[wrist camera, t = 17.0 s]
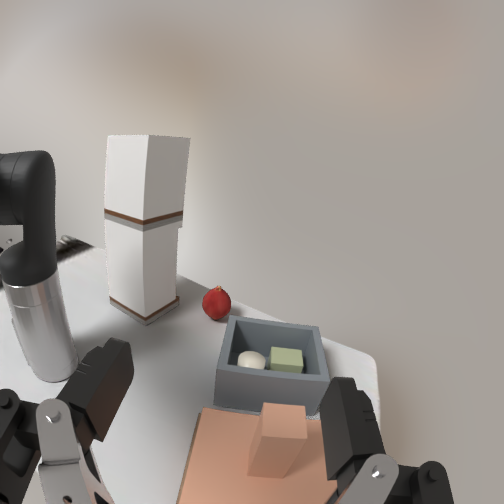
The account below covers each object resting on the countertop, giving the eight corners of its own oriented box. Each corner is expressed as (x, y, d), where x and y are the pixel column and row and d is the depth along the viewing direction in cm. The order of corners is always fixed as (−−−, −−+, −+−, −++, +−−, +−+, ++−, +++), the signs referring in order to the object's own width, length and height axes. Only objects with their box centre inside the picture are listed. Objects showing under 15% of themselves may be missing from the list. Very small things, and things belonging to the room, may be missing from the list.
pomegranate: (198, 312, 59) (200, 279, 56) (223, 309, 61) (227, 277, 58) (205, 328, 54) (208, 293, 51) (233, 325, 56) (237, 291, 53)
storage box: (213, 404, 36) (216, 368, 33) (225, 350, 48) (229, 314, 46) (313, 415, 36) (330, 381, 33) (306, 360, 48) (318, 326, 45)
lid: (179, 510, 19) (169, 476, 15) (202, 416, 33) (205, 354, 29) (332, 520, 19) (385, 484, 15) (323, 429, 33) (355, 371, 29)
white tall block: (179, 304, 60) (190, 138, 48) (145, 325, 51) (148, 135, 38) (143, 287, 64) (148, 136, 52) (110, 303, 55) (108, 135, 43)
